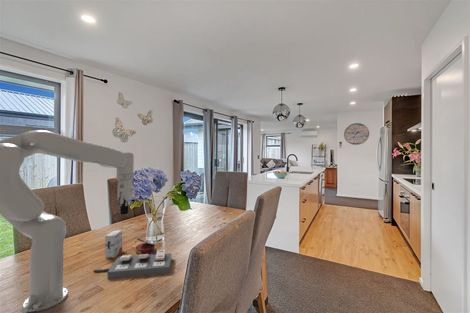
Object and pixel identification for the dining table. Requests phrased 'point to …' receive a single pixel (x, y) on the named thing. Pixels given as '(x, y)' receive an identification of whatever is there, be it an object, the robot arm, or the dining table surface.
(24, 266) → the dining table surface
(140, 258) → the rocker
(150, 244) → the dark red apple
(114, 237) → the ink box
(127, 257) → the rocker
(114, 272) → the power strip
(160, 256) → the rocker
